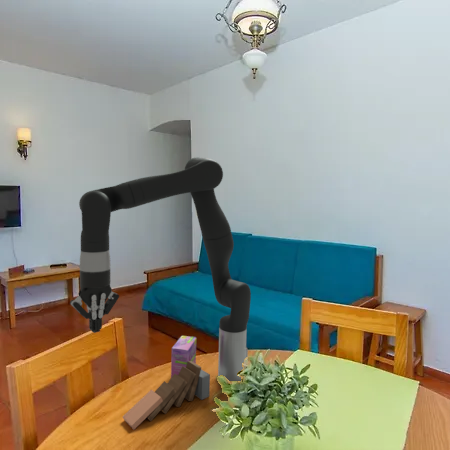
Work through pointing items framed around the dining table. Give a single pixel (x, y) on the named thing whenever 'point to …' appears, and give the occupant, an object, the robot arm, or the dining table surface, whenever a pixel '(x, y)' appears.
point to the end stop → (203, 385)
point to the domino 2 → (178, 386)
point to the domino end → (142, 409)
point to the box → (183, 353)
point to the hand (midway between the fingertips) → (95, 331)
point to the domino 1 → (165, 393)
